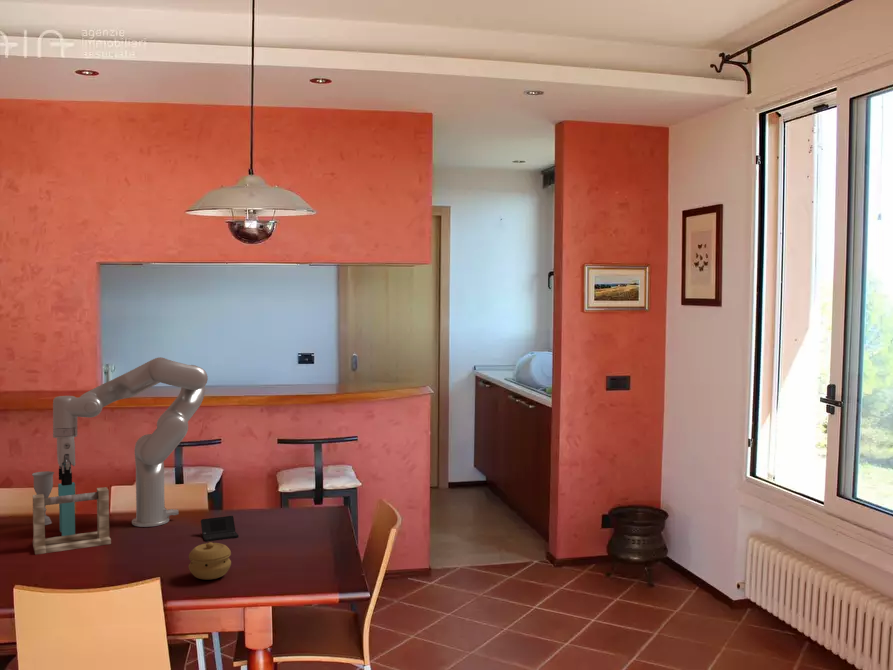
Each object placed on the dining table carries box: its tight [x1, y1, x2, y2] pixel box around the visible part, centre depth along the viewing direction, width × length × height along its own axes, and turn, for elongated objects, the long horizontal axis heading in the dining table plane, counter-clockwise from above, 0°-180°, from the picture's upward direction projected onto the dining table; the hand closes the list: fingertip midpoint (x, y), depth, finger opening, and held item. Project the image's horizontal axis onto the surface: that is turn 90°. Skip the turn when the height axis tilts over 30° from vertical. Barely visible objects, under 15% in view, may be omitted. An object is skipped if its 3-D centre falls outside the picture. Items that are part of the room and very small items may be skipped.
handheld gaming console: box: [200, 515, 239, 543], centre depth 269 cm, size 12×7×10 cm
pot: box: [188, 541, 232, 581], centre depth 228 cm, size 12×12×10 cm
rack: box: [32, 486, 112, 556], centre depth 259 cm, size 22×12×17 cm, turn 121°
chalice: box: [31, 470, 55, 526], centre depth 283 cm, size 7×7×18 cm
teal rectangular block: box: [57, 481, 76, 536], centre depth 272 cm, size 5×9×17 cm, turn 31°
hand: (65, 482), depth 271 cm, fingers open, 9 cm apart
